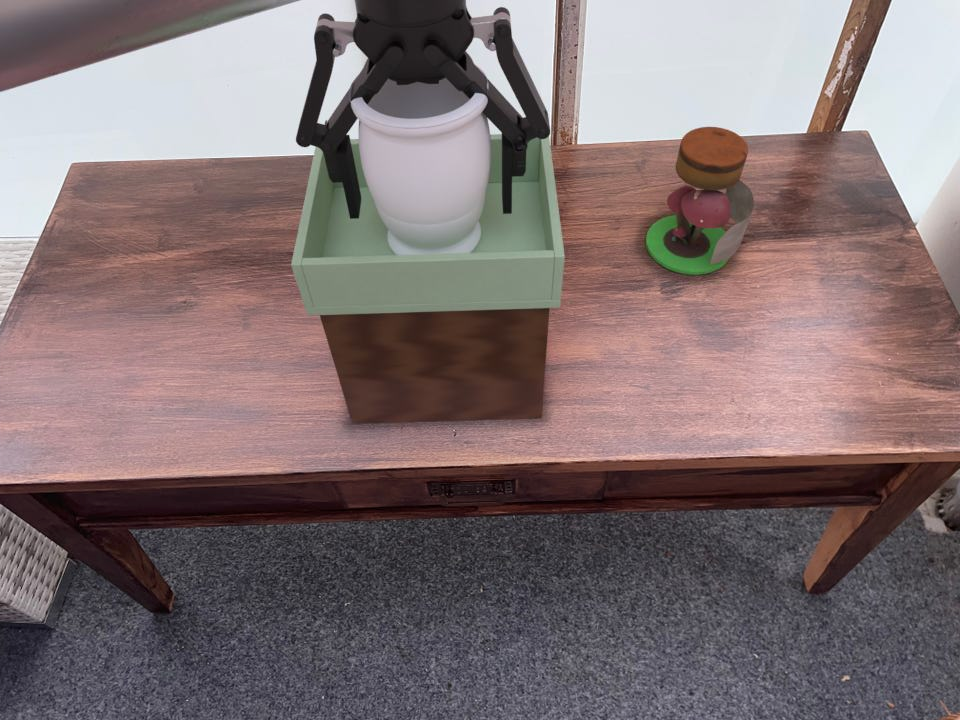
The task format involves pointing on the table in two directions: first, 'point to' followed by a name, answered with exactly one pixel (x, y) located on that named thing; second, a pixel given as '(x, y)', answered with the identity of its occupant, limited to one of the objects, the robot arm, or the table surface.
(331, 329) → the stand
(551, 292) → the tray
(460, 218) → the jar
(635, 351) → the table surface
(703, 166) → the toy figurine
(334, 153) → the robot arm
